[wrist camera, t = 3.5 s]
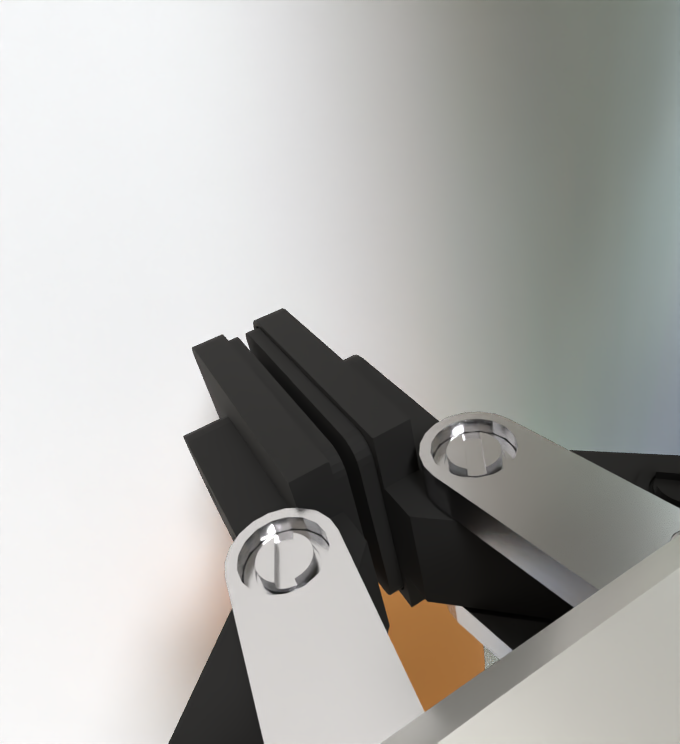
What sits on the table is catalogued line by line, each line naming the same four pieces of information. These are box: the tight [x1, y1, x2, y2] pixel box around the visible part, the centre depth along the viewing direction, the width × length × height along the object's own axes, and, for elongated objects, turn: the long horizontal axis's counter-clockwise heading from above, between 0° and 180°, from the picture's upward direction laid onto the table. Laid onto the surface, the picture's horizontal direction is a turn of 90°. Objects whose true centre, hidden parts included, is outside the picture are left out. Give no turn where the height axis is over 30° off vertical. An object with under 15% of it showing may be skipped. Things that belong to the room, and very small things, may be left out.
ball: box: [378, 583, 485, 712], centre depth 16 cm, size 6×6×6 cm
